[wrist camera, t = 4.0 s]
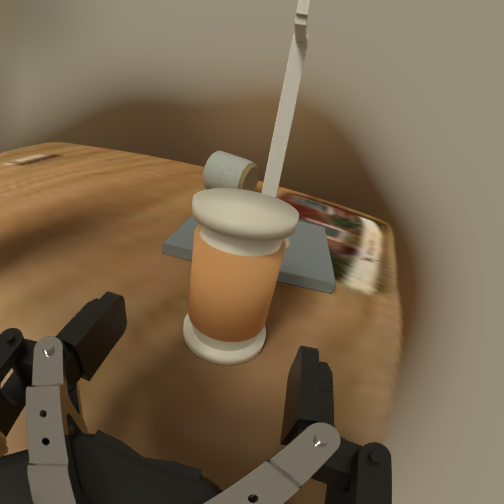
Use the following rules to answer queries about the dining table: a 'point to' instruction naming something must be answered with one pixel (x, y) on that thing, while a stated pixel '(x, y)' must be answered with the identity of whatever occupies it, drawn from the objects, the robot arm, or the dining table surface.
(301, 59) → the stand
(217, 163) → the ceramic mug
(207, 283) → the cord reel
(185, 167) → the dining table surface
